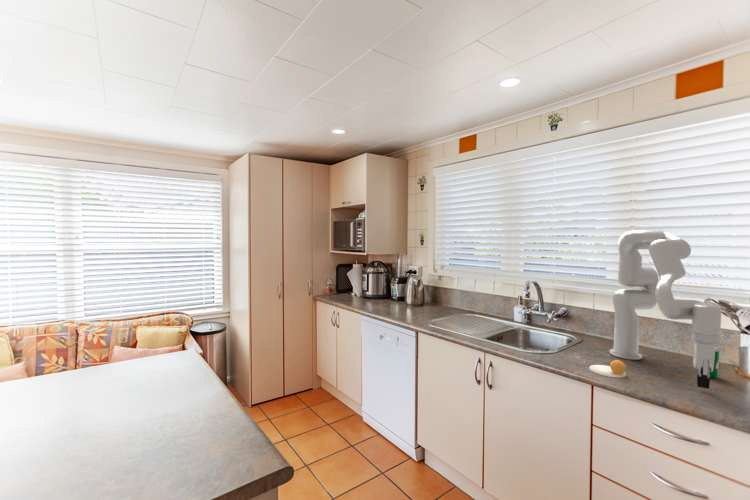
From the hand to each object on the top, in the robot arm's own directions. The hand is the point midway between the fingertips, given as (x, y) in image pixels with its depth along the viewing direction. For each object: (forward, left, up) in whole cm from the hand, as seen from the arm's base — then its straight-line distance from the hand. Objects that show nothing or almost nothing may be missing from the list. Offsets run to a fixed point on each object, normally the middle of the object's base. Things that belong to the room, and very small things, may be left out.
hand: (703, 386), depth 127 cm
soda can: (-20, +4, -2) cm, 20 cm away
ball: (0, -26, +1) cm, 26 cm away
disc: (0, -29, -2) cm, 29 cm away
